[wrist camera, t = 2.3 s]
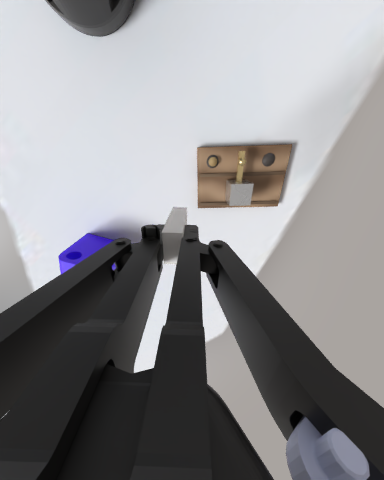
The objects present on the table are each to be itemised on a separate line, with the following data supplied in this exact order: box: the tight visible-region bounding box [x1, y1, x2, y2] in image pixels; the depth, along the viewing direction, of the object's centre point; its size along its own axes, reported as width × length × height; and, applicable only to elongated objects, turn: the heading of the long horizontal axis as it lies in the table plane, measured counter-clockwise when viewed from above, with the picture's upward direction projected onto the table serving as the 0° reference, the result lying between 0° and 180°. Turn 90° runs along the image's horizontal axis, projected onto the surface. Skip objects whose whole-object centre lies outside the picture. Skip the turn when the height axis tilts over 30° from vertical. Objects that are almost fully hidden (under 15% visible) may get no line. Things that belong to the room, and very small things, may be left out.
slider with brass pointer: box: [225, 151, 254, 206], centre depth 30 cm, size 9×4×5 cm, turn 2°
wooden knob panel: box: [197, 144, 292, 208], centre depth 33 cm, size 12×18×3 cm, turn 92°
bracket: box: [59, 233, 116, 274], centre depth 42 cm, size 18×11×12 cm, turn 163°
